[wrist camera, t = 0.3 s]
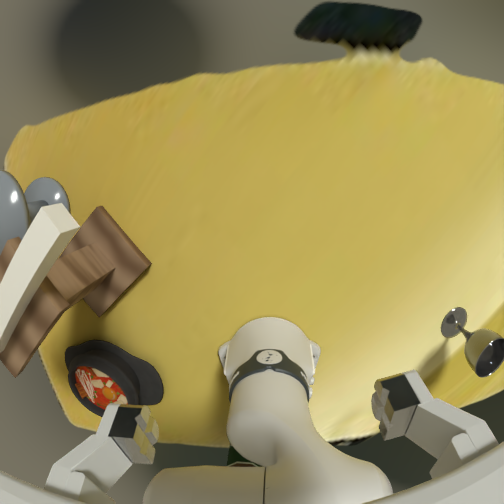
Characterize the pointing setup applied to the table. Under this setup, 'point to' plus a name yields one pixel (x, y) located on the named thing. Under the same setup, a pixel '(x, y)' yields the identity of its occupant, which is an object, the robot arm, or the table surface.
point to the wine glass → (475, 343)
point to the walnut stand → (74, 282)
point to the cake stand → (25, 204)
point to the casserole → (110, 376)
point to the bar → (33, 264)
